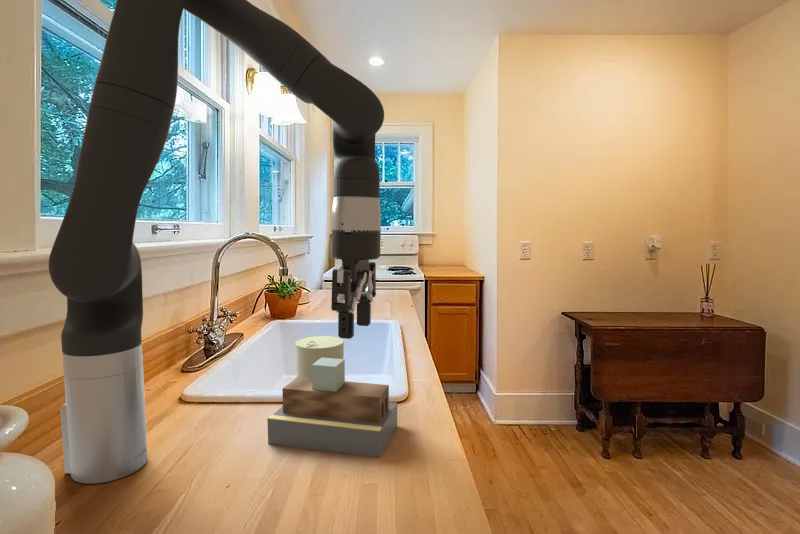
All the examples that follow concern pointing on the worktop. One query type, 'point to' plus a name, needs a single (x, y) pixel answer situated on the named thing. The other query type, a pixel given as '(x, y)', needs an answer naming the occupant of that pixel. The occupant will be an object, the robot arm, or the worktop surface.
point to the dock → (332, 432)
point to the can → (316, 352)
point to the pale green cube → (328, 374)
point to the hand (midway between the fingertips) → (355, 331)
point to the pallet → (337, 400)
